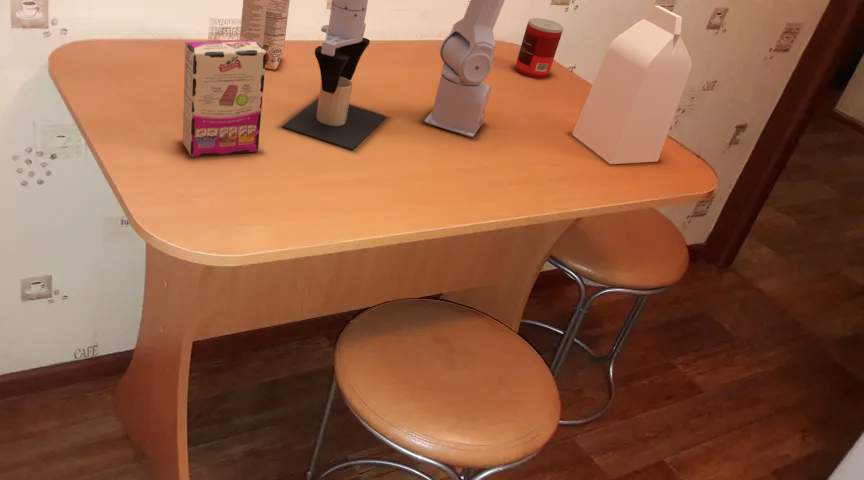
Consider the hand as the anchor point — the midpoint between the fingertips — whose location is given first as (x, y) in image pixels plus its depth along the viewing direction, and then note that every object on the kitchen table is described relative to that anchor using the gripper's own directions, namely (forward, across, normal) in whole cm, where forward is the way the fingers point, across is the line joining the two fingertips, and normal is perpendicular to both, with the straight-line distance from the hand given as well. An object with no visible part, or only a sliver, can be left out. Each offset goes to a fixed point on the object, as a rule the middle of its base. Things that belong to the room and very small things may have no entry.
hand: (337, 85), depth 136 cm
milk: (+7, -27, +48) cm, 55 cm away
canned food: (+7, -57, +26) cm, 63 cm away
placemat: (+7, 0, +1) cm, 7 cm away
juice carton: (+7, -16, -22) cm, 28 cm away
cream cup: (+6, 0, 0) cm, 6 cm away
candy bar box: (+7, +22, -10) cm, 25 cm away
